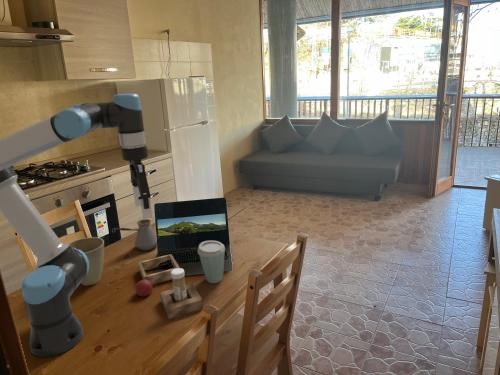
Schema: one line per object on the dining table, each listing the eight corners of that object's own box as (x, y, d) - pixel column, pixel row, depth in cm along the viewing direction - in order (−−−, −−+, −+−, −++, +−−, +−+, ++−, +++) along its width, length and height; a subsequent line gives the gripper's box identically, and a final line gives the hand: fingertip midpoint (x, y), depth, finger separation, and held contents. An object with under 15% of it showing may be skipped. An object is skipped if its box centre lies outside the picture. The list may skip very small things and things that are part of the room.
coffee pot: (151, 239, 192) (147, 211, 187) (164, 245, 184) (160, 216, 180) (111, 255, 177) (105, 225, 173) (124, 263, 169) (118, 231, 165)
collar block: (169, 319, 129) (167, 310, 128) (161, 301, 140) (159, 292, 139) (203, 308, 134) (202, 299, 133) (192, 291, 144) (192, 283, 143)
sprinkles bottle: (190, 305, 136) (186, 271, 132) (178, 310, 134) (173, 275, 130) (184, 299, 140) (180, 266, 136) (173, 303, 137) (168, 270, 133)
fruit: (139, 303, 143) (142, 291, 138) (132, 291, 145) (134, 278, 140) (154, 296, 146) (157, 284, 141) (147, 284, 149) (150, 272, 144)
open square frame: (145, 286, 150) (144, 277, 149) (139, 270, 162) (138, 262, 161) (181, 276, 155) (179, 267, 154) (172, 262, 167) (171, 254, 166)
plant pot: (62, 289, 151) (54, 252, 146) (86, 270, 165) (79, 236, 160) (96, 292, 148) (88, 255, 143) (117, 272, 161) (111, 238, 157)
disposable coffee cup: (229, 272, 156) (226, 238, 152) (225, 287, 146) (222, 251, 141) (204, 272, 157) (200, 239, 153) (198, 287, 147) (194, 251, 143)
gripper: (154, 150, 108) (164, 221, 114) (139, 138, 130) (147, 198, 136) (127, 154, 105) (138, 226, 111) (115, 141, 127) (125, 202, 133)
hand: (143, 211), depth 124 cm, fingers open, 13 cm apart
